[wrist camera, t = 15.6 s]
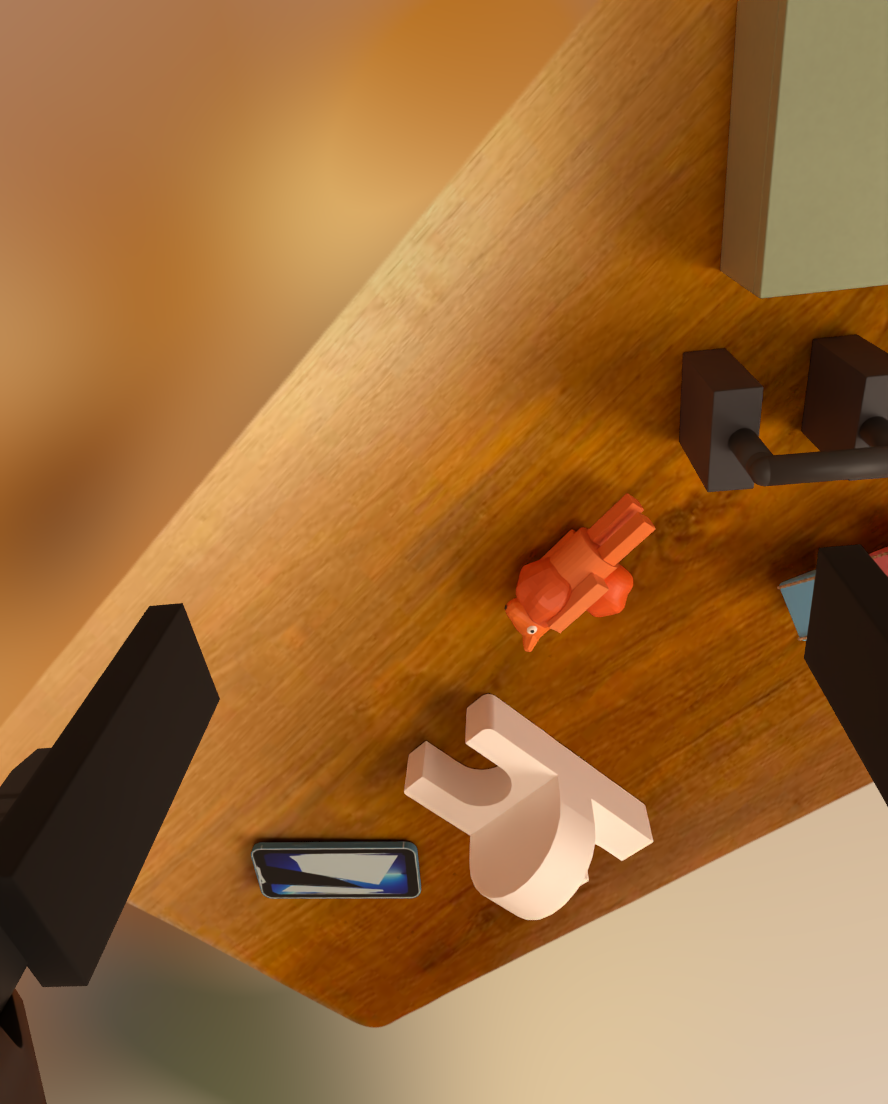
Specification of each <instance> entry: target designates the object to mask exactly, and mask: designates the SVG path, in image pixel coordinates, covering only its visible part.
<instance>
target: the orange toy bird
mask: <svg viewBox="0 0 888 1104" xmlns="http://www.w3.org/2000/svg"><path fill="white" fill-rule="evenodd" d="M643 510H644V509H643V508H642V506H641V504H640V503H639V501H638V500H637V499H635V498H634V497H632V496H631V495H629V494H628V493H626V494H625V495H624V496H623V497H622V498H621V499H620V500H619V501H618V502H617V503H616V504H615V505H614V506H613V507H612V508H611V509H610V510H608V511H607V512H606V513H605V514H604V515H603V516H602V517H601V518H600V519H599V520H598V521H597V522H596V523H595V524H594V525H593V526H592V527H591V528H590V529H588V528H585V527H582V528H580V529H579V530H578V531H577V532H576V531H574V530H572V529H571V530H570V531H569V532H568V533H567V534H566V535H565V536H564V537H563V538H562V539H561V540H560V541H559V542H558V543H557V544H556V545H555V546H553V547H552V548H551V549H550V550H549V551H548V552H547V553H546V554H545V555H544V556H543V557H542V558H541V559H540V560H538V561H535V562H532V563H529V564H527V565H524V566H523V568H522V569H521V571H520V575H519V579H518V583H517V586H516V596H517V597H516V598H514V599H512V600H510V601H509V602H508V603H507V604H506V606H505V611H506V614H507V616H508V617H509V618H510V619H511V620H512V623H513V625H514V627H515V628H516V630H517V631H518V632H520V633H521V634H522V636H523V645H524V650H525V651H526V652H531V651H532V650H533V648H534V646H535V645H536V643H537V641H538V640H539V639H540V637H541V636H542V635H543V634H545V633H546V632H547V631H548V630H549V629H550V628H551V629H553V630H555V631H558V632H560V633H561V632H562V631H563V630H564V629H565V628H566V627H568V626H569V625H570V624H571V623H572V622H573V621H574V620H576V619H577V618H578V617H579V616H580V615H581V614H582V613H583V612H585V611H588V612H590V614H591V615H592V616H595V617H603V616H607V615H613V614H617V613H620V612H621V611H622V610H623V608H624V607H625V603H626V599H627V596H628V593H629V592H630V591H631V589H632V587H633V577H632V575H631V574H630V572H628V571H627V570H626V569H625V568H624V567H623V566H621V565H619V561H620V560H622V559H623V558H624V557H625V556H626V555H627V554H628V553H629V552H630V551H632V550H633V549H634V548H635V547H636V546H637V545H638V544H639V543H640V542H642V541H643V540H644V539H645V538H646V537H647V536H648V535H649V534H650V533H652V532H653V531H654V530H655V529H656V528H655V527H654V525H653V524H652V522H651V520H650V519H649V518H648V517H646V516H645V515H643V514H641V512H642V511H643Z"/></svg>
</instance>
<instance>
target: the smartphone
mask: <svg viewBox="0 0 888 1104" xmlns="http://www.w3.org/2000/svg"><path fill="white" fill-rule="evenodd" d="M251 857H252V861H253V864H254V868H255V871H256V875H257V878H258V882H259V885H260V889H261V892H262V894H263V895H264V896H266V897H268V898H273V899H284V898H415V897H417V896H419V895H420V893H421V880H420V871H419V862H418V852H417V847H416V846H415V845H414V844H413V843H410V842H261V843H257V844H255V845H254V846H253V849H252V852H251Z"/></svg>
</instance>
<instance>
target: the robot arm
mask: <svg viewBox="0 0 888 1104" xmlns="http://www.w3.org/2000/svg"><path fill="white" fill-rule="evenodd" d="M804 659H805V661H806V663H807V664H808V666H809V668H810V670H811V671H812V673H813V675H814V677H815V679H816V680H817V682H818V684H819V686H820V687H821V689H822V691H823V693H824V694H825V696H826V698H827V700H828V702H829V703H830V705H831V707H832V709H833V710H834V712H835V714H836V716H837V717H838V719H839V721H840V723H841V725H842V726H843V728H844V730H845V732H846V733H847V735H848V737H849V739H850V740H851V742H852V744H853V746H854V748H855V749H856V751H857V753H858V755H859V756H860V758H861V760H862V762H863V764H864V765H865V767H866V769H867V771H868V772H869V774H870V776H871V778H872V779H873V781H874V783H875V785H876V786H877V788H878V790H879V792H880V793H881V795H882V797H883V799H884V801H885V802H886V804H887V806H888V577H887V575H886V574H885V573H884V572H883V571H882V569H881V568H880V567H879V566H878V565H877V563H876V562H875V561H874V560H873V559H872V558H871V556H870V555H869V554H868V553H867V552H866V550H865V549H864V548H863V547H862V546H861V544H859V545H847V546H836V547H824V548H819V551H818V559H817V566H816V574H815V581H814V588H813V596H812V603H811V610H810V618H809V625H808V632H807V640H806V647H805V655H804ZM219 700H220V698H219V696H218V693H217V691H216V688H215V685H214V683H213V680H212V678H211V675H210V672H209V670H208V667H207V665H206V662H205V660H204V657H203V654H202V652H201V649H200V647H199V644H198V642H197V639H196V636H195V634H194V631H193V629H192V626H191V623H190V621H189V618H188V616H187V613H186V611H185V608H184V605H183V603H180V604H168V605H157V606H149V607H148V609H147V610H146V612H145V613H144V615H143V616H142V618H141V619H140V620H139V622H138V623H137V625H136V626H135V628H134V629H133V631H132V632H131V634H130V635H129V636H128V638H127V639H126V641H125V642H124V644H123V645H122V647H121V648H120V649H119V651H118V652H117V654H116V655H115V657H114V658H113V660H112V661H111V663H110V664H109V665H108V667H107V668H106V670H105V671H104V673H103V674H102V676H101V677H100V678H99V680H98V681H97V683H96V684H95V686H94V687H93V689H92V690H91V692H90V693H89V694H88V696H87V697H86V699H85V700H84V702H83V703H82V705H81V706H80V707H79V709H78V710H77V712H76V713H75V715H74V716H73V718H72V719H71V720H70V722H69V723H68V725H67V726H66V728H65V729H64V731H63V732H62V734H61V735H60V736H59V738H58V739H57V741H56V742H55V744H54V745H53V747H52V748H42V749H37V750H36V751H34V752H33V753H32V754H31V755H30V756H29V757H27V758H26V759H25V760H24V761H23V762H22V763H20V764H19V765H18V766H17V767H16V768H14V769H13V770H12V771H11V773H10V774H9V775H8V777H7V778H6V780H5V781H4V782H3V784H2V785H1V786H0V1104H47V1103H46V1099H45V1095H44V1090H43V1086H42V1082H41V1077H40V1073H39V1069H38V1065H37V1060H36V1056H35V1052H34V1047H33V1043H32V1038H31V1034H30V1030H29V1025H28V1021H27V1017H26V1012H25V1008H24V1004H23V1000H22V999H21V997H20V995H19V994H18V992H17V991H16V989H15V987H16V985H17V983H18V982H19V979H20V978H21V976H22V974H23V972H24V970H25V969H26V967H27V966H28V968H29V969H30V971H31V972H32V973H33V975H34V976H35V977H36V979H37V980H38V981H39V983H40V984H41V985H42V987H59V986H60V987H61V986H87V985H88V983H89V981H90V979H91V977H92V975H93V972H94V970H95V968H96V966H97V964H98V962H99V959H100V957H101V955H102V953H103V951H104V949H105V946H106V944H107V942H108V940H109V938H110V936H111V933H112V931H113V929H114V927H115V925H116V923H117V921H118V918H119V916H120V914H121V912H122V910H123V908H124V905H125V903H126V901H127V899H128V897H129V895H130V892H131V890H132V888H133V886H134V884H135V882H136V879H137V877H138V875H139V873H140V871H141V869H142V866H143V864H144V862H145V860H146V858H147V856H148V853H149V851H150V849H151V847H152V845H153V843H154V840H155V838H156V836H157V834H158V832H159V830H160V827H161V825H162V823H163V821H164V819H165V817H166V815H167V812H168V810H169V808H170V806H171V804H172V802H173V799H174V797H175V795H176V793H177V791H178V789H179V786H180V784H181V782H182V780H183V778H184V776H185V773H186V771H187V769H188V767H189V765H190V763H191V760H192V758H193V756H194V754H195V752H196V750H197V747H198V745H199V743H200V741H201V739H202V737H203V734H204V732H205V730H206V728H207V726H208V724H209V721H210V719H211V717H212V715H213V713H214V711H215V708H216V706H217V704H218V702H219Z"/></svg>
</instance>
